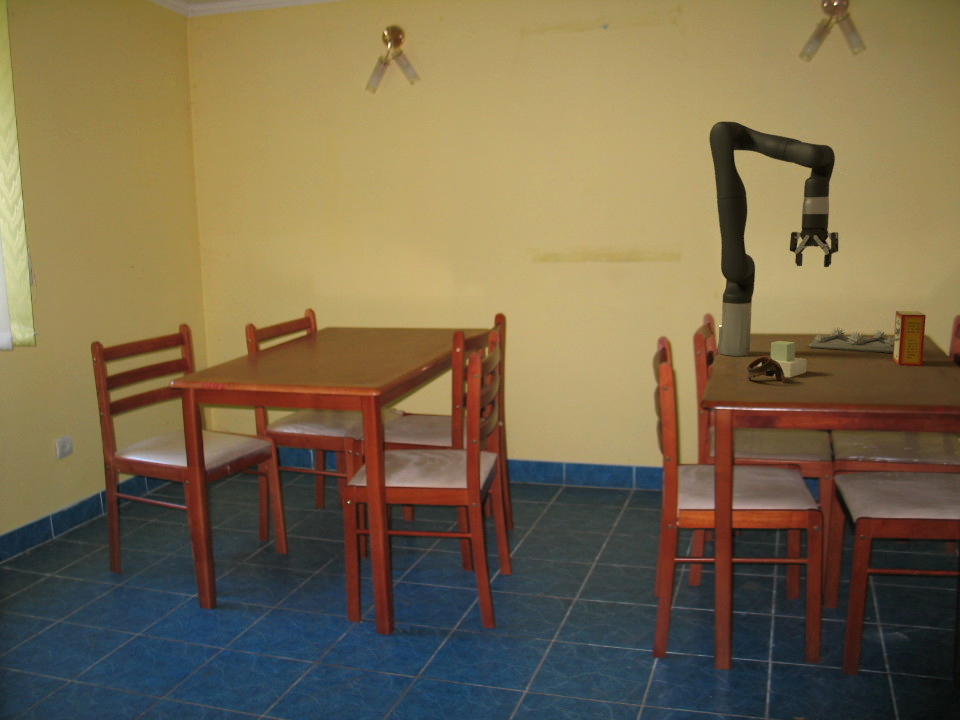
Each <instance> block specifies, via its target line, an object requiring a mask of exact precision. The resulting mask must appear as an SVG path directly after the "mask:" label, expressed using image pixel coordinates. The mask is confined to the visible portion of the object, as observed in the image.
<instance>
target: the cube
mask: <svg viewBox="0 0 960 720" xmlns="http://www.w3.org/2000/svg"><path fill="white" fill-rule="evenodd" d="M795 356H796V342H794V341H793V342H792V341H784V340H777V341H773V342H770V357H771V359H773V360H778V361H790V360H794V359H795V358H796V357H795Z"/></svg>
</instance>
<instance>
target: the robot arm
mask: <svg viewBox="0 0 960 720" xmlns="http://www.w3.org/2000/svg"><path fill="white" fill-rule="evenodd" d="M708 141H709V146H710V147H709V148H710V151H711V156H712V162H713V167H714V168H713V169H714V178H715V187H716V188H715V189H716V200H717V201H716V204H717V214H718V225H719V230H720V239H721V243H720V244H721V251H720V253H721V254H720V256H721V257H720V269H721V274H722V276H723V277H724V278H725V281H726V282H725V289H724V292H723V294H722V307H721V308H722V309H721V312H722V313H721V324H720V325H718V348H717V350H718V351H717V353H718V354H722V355H724V356H733V357H735V356H736V357H743V356H748V355H749V356H750V353H751V329H752V328H751V327H752V326H751V325H752V303H753V302H752V301H753V295H754V290H755V279H756V265H755V261H754V259H753V258H752V256H751V255H749V254H748V253H747V252H746V243H745V232H746V231H745V230H746V227H747V226H746V225H747V219H748V201H747V199H748V198H747V190H746V187H745V185H744V181H743V180H742V177H741V176H740V174H739V171H738V169H737V166H736V161H735V151H745V152H747V151H748V152H753V153H754V152H755V153H758V154H762V155H763V156H765V157H769V158H771V159H772V160H773V159H774V160H778V161H782V162H786V163H790V164H791V163H792V164H795V165H797V166H798V165H799V166H801V167H805V168H808V169H811V172H810V175H809V177H808V178H806V179H805V182H804V185H803V186H804V189H803V201H802V209H801V231H800V232H799V231H792V232H791V233H790V242H789V252H791V253H794V254H795V259H794V261H795V265H796V267H803V255H804V254H803V252H804V251H805V250H806V249H807V248H808V247H817V248H818V247H819V248H820V249H821V250H822V251H823V253H824V258H823V267H824V268H829V267H830V266H831V265H832V255H833V254H835V253H838V252H839V232H837V231H834V232H829V231H828V229H829V219H830V218H829V216H830V215H829V213H830V181H831V178H832V175H833V171H834V167H835V161H836V156H835V152H834V151H835V150H834V149H833V148H832V147H831V146H829V145H827V144H816V143H811V142H804V141H802V140H799V139H796V138H791V137H786V136H782V135H776V134H772V133H771V134H770V133H765V132H762V131H758V130H755V129H752V128H750V127H748V126H746V125H744V124H741V123H739V122H736V121H718V122H716V123H715V124H714V125H712V127H711V129H710V132H709V140H708ZM800 238H801V242H800V243H799V244H798V241H799V239H800ZM828 238H829V240H830V245H829V243H828V242H827V239H828Z"/></svg>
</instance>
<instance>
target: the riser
mask: <svg viewBox="0 0 960 720" xmlns="http://www.w3.org/2000/svg"><path fill="white" fill-rule="evenodd" d="M775 361H777V362H778V363H779V364H780V366H781V368H782V370H783V372H784V378H792V377H796V376H799V375H802V374H805V373H807V358H800V357H795V359H794V360H790V361H778V360H775ZM761 363H762V362H761ZM761 363H760V364H758V365H757V367H759V366H761V365H762V364H761ZM773 376H775V374H774V375H773Z"/></svg>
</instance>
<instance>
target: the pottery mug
mask: <svg viewBox="0 0 960 720" xmlns="http://www.w3.org/2000/svg"><path fill="white" fill-rule="evenodd" d="M761 362H762V363H761ZM760 363H761V364H762V365H761V366H759V367H758V364H760ZM756 366H757V367H756ZM746 369H747V371H748V372H747V379H748V381H752V378H754V379H755V378H756V377H757V378H758V377H760V376H764V377H770V378H771V377H773V376H775V380H776V381H779V380H780V381H781V384H785V383H786V379H785V378H786V377H784V372H783V370H782V368H781V366H780V364H779V363H778V362H777V361H775V360H773V359H771V355H765V356H764V355H763V356H760V357H758V358H756V359H754V360H752V361H751V362H750V363H749V364H748V367H747V368H746ZM774 374H775V375H774Z"/></svg>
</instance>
